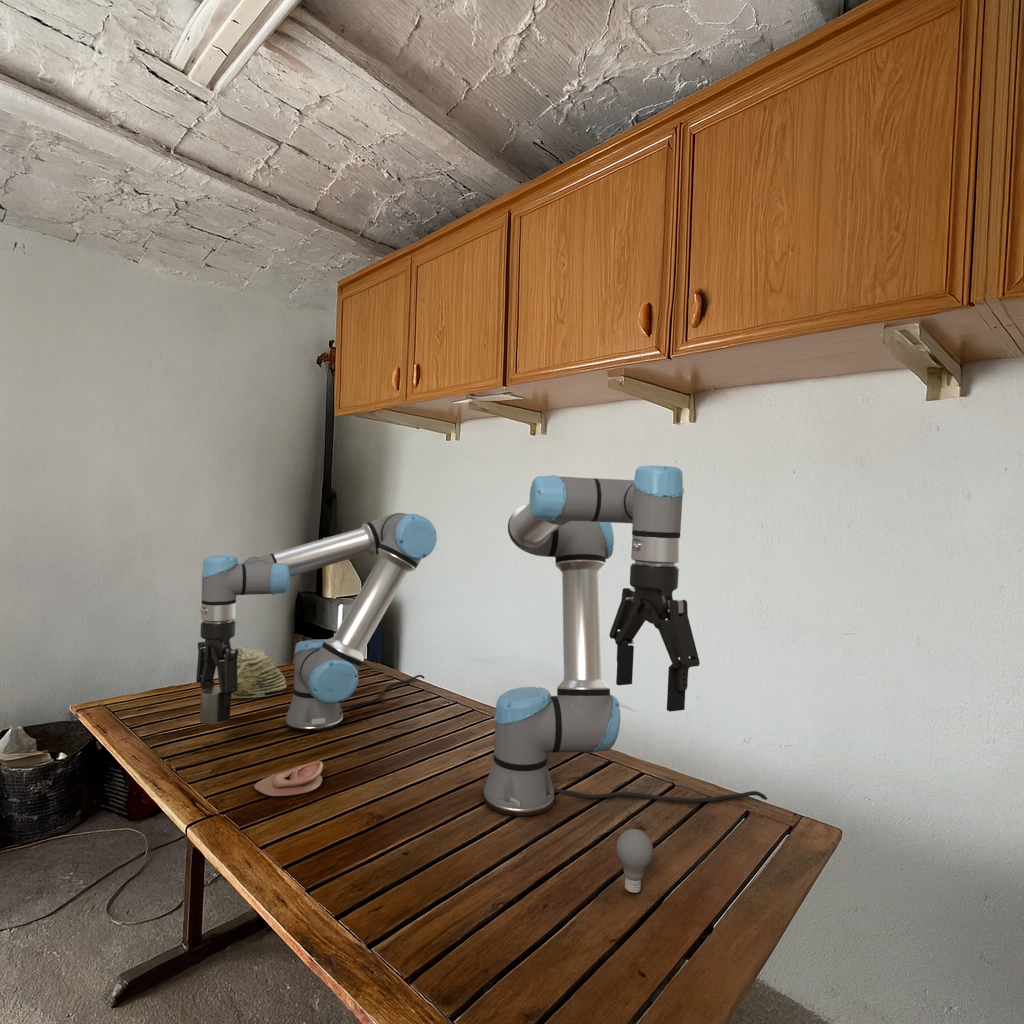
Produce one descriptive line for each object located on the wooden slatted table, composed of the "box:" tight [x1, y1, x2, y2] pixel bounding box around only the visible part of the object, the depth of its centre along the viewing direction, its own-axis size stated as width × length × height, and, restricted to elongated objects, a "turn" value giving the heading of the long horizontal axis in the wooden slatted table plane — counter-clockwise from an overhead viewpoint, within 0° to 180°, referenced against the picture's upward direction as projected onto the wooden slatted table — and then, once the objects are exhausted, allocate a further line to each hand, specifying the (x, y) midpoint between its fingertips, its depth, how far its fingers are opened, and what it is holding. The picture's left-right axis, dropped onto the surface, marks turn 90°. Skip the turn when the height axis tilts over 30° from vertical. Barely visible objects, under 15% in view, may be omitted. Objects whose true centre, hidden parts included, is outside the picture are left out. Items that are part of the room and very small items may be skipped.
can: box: [199, 685, 229, 725], centre depth 151 cm, size 6×6×7 cm
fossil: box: [231, 646, 288, 699], centre depth 198 cm, size 9×18×15 cm, turn 132°
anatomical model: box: [253, 760, 324, 797], centre depth 138 cm, size 13×4×12 cm
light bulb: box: [615, 828, 654, 894], centre depth 106 cm, size 6×6×10 cm
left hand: (215, 716), depth 151 cm, fingers closed on can, 6 cm apart
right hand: (648, 696), depth 101 cm, fingers open, 13 cm apart
